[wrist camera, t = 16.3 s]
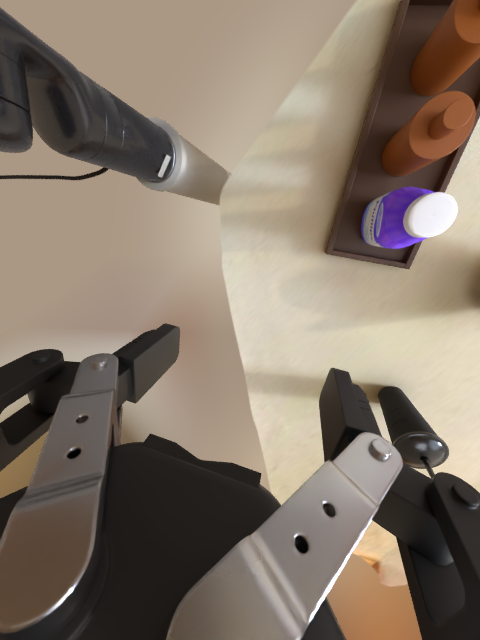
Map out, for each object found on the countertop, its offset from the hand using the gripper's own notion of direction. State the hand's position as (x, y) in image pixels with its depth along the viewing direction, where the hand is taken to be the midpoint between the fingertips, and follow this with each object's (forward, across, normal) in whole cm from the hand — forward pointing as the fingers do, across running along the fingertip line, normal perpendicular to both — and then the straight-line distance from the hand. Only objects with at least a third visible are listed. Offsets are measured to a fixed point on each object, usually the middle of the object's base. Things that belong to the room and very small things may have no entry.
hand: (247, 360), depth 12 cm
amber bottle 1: (+36, -13, -28) cm, 47 cm away
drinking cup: (+36, -28, +23) cm, 51 cm away
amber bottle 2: (+36, -13, -19) cm, 42 cm away
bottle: (+36, -13, -10) cm, 39 cm away
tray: (+36, -13, -19) cm, 43 cm away
